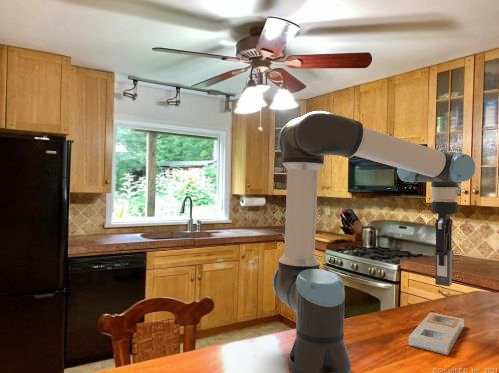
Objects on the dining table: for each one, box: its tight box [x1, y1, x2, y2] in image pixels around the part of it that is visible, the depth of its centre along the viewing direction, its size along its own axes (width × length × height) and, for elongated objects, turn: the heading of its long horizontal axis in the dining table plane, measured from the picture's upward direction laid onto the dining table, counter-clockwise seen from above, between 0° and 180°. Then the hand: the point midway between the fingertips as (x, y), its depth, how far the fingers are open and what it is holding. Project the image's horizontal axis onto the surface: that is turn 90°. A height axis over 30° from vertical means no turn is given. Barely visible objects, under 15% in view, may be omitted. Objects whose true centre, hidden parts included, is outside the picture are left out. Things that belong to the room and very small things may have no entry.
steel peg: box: [434, 249, 453, 287], centre depth 119 cm, size 4×4×11 cm
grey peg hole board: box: [408, 311, 465, 356], centre depth 114 cm, size 10×26×3 cm, turn 142°
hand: (443, 274), depth 119 cm, fingers closed on steel peg, 4 cm apart
